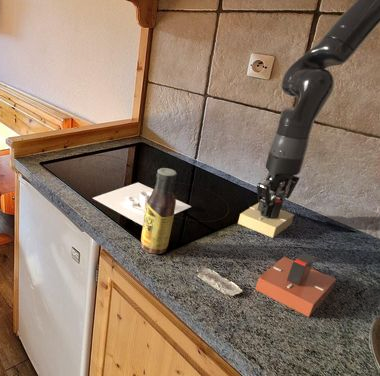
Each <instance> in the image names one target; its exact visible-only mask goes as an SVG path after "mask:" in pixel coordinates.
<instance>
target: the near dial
mask: <svg viewBox="0 0 380 376" xmlns="http://www.w3.org/2000/svg"><path fill="white" fill-rule="evenodd" d="M315 260H316V257H314V256H312V255H310V254H307V253H305V252H302V253H301V254H300V255H299V256H297V258H296V259H295V260H293V264H292V266H291V269H290V272H289V275H288V278H287V281H289V282H291V283H293V284H296V285H298V286H299V285H300V284H301V283H302V282H303V281H304V280H305V279H306V278H307V277H308V276H309V273H310V270H311V269H313V268H312V267H313V265H314V262H315Z"/></svg>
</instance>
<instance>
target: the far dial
mask: <svg viewBox="0 0 380 376" xmlns="http://www.w3.org/2000/svg"><path fill="white" fill-rule="evenodd" d="M270 200H271V196H270ZM258 203H259V205H258V209H257V210H258V211H260V212H261V210H262V206H263V203H262V202H259V201H258ZM283 203H284V202H282V201H281V200H278V199H275V201H274V204H273V208H272V211H271V215H270V217H269V218H270V219H273V218H278V216H279V213H280V210H282V206H283Z"/></svg>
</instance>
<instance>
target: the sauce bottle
mask: <svg viewBox="0 0 380 376" xmlns="http://www.w3.org/2000/svg"><path fill="white" fill-rule="evenodd" d="M176 179H177V172H176V170H174V169H173V168H168V167H161V168H159V169H157V173H156V181H155V185H154V188H153V189H154V190H153V192H152V194H151V195H150V197H149V199H148V201H147V205H146V211H145V216H144V223H143V226H142V230H141V236H140V241H141V242H140V247H141V248H142V250H143V251H145V252H146V253H148V254H151V255H152V254H153V255H161V254H164V253H165V252H167V249H168V247H169V242H170V238H171V237H170V236H171V232H172V227H173V222H174V217H175V214H174V210H175V205H176V200H177V199H176V196H175V194H174V186H175V182H176Z"/></svg>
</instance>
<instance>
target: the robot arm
mask: <svg viewBox="0 0 380 376" xmlns="http://www.w3.org/2000/svg"><path fill="white" fill-rule="evenodd" d="M378 25H380V0H356V1H355V2H353V3H352V5H350V6H349V7H348V8H347V10H345V11H344V13H342V14H341V16H340V17H338V19H337V20H336V21H335V22H334V23H333V24H332V26H331V27H330V28H329V30H328V31H327V32H326V33H325V34H324V36H323V37H322V38H321V40H319V42H318V43H317V44H316V45H315V46H313V47H312V48H311V49H309V50H308V51H307V52H305V54H303V55H302V56H301V57H299V58H298V59H297V60H296V61H295V62H293V63H292V64H291V65H290V66H289V68H288V69H287V70H286V71H285V73H284V75H283V77H282V80H281V83H280V84H281V85H280V86H281V89H282V91H283V93H284V94H286V95H288V96H290V97H294V98H297V99H299V100H298V102H297V104H296V105H295V106H294V107H286V108H284V109H283V110H282V111H281V113H280V115H279V118H278V122H277V126H276V129H275V133H274V135H273V138H272V140H271V143H270V147H269V151H268V155H267V159H266V162H265V168H266V170H267V171H268V174H267V175H266V178H265V181H264V182H258V183H257V184H256V193H257V201H258V203H259V202H262V203H263V206H262V210H261V216H263V217H265V218H269V217H270V215H271V211H272V208H273V204H274V201H275V199H278V200H281V201H282V202H283V203H284V202H285V201H286V199H287V200H288V199H289V198H290V197H291V196H292V193H293V191H294V190H295V188H296V186H297V184H298V183H299V181H300V177H299V176H297V175H299V174H300V173H301V170H302V167H303V163H304V161H305V157H306V154H307V150H308V147H309V140H310V136H311V133H312V129H313V126H314V123H315V120H316V119H317V117H318V116H319V114H320V113H321V111H322V110H323V108H324V107H325V105H326V103H327V102H328V100H329V99H330V97H331V95H332V94H333V91H334V88H335V77H334V75H333V73H332V72H331V71H330V70H327V69H328V68H330V67H335V66H342V65H343V64H346V63H347V62H348V61H349V60H350V59H351V57H352V56H353V55H354V54H355V53H356V52H357V51H358V49H359V48H360V47H362V45H363V43H364V42H366V40H367V39H368V37H369V36H370V35H371V34H372V33H373V32H374V30H375V29H376V28H377V27H378ZM270 196H271V200H270Z"/></svg>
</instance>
